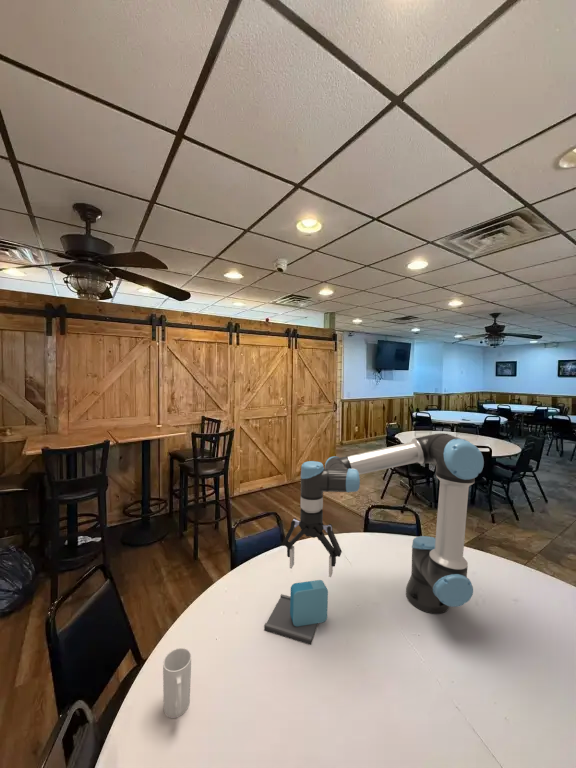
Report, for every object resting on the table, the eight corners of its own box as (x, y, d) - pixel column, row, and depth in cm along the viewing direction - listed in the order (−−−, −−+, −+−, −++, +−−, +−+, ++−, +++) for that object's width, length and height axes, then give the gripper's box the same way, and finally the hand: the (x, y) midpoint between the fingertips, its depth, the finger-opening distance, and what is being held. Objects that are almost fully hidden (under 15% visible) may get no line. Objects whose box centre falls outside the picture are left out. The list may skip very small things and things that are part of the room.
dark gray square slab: (322, 610, 115) (322, 605, 115) (311, 645, 100) (311, 639, 100) (281, 598, 121) (281, 594, 121) (264, 630, 106) (264, 625, 106)
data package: (322, 612, 113) (323, 578, 112) (327, 622, 108) (328, 587, 108) (289, 617, 110) (290, 583, 109) (293, 627, 105) (293, 592, 105)
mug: (162, 697, 83) (162, 652, 83) (189, 688, 86) (189, 644, 85) (163, 738, 74) (164, 687, 73) (193, 726, 76) (194, 677, 76)
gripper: (350, 509, 107) (349, 571, 108) (280, 499, 115) (280, 557, 116) (347, 519, 100) (346, 585, 101) (273, 507, 108) (272, 568, 109)
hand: (310, 570), depth 108 cm, fingers open, 13 cm apart
